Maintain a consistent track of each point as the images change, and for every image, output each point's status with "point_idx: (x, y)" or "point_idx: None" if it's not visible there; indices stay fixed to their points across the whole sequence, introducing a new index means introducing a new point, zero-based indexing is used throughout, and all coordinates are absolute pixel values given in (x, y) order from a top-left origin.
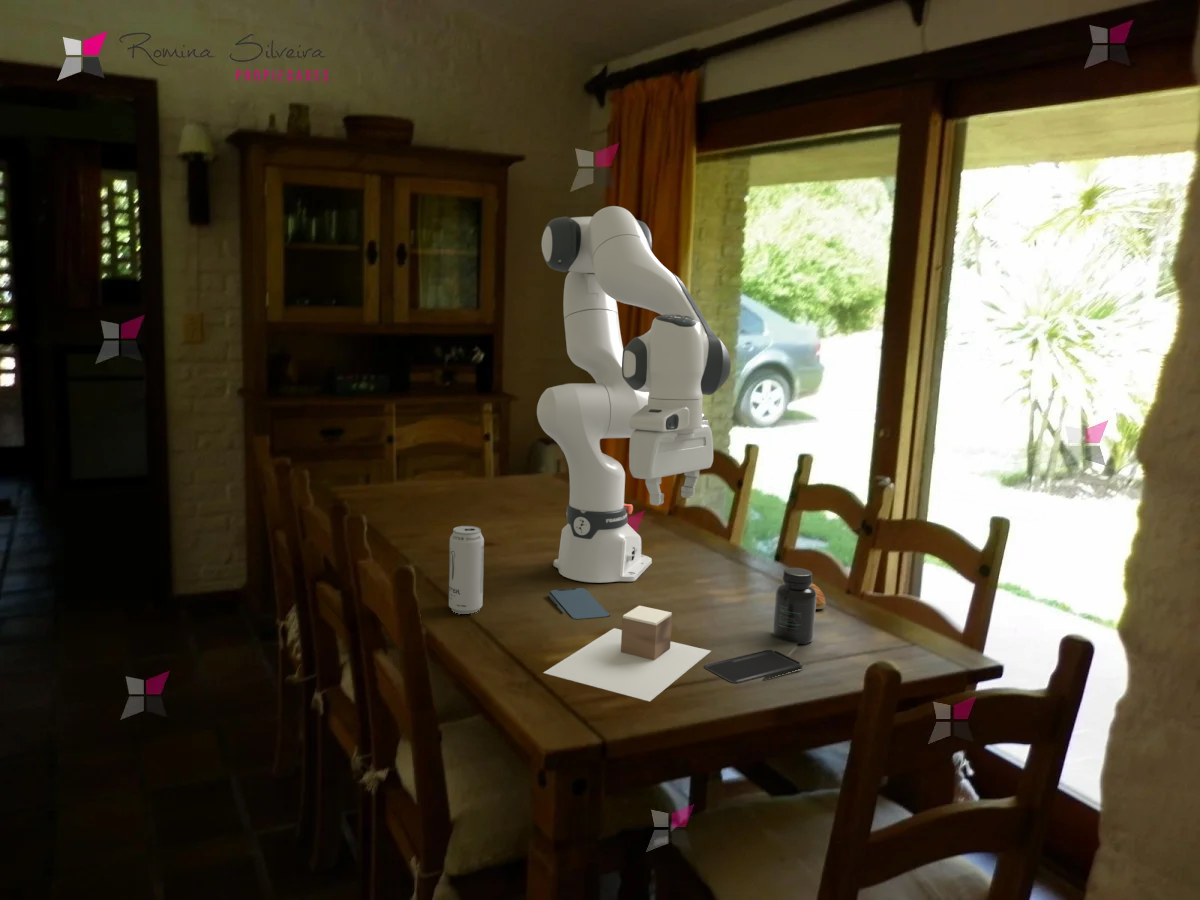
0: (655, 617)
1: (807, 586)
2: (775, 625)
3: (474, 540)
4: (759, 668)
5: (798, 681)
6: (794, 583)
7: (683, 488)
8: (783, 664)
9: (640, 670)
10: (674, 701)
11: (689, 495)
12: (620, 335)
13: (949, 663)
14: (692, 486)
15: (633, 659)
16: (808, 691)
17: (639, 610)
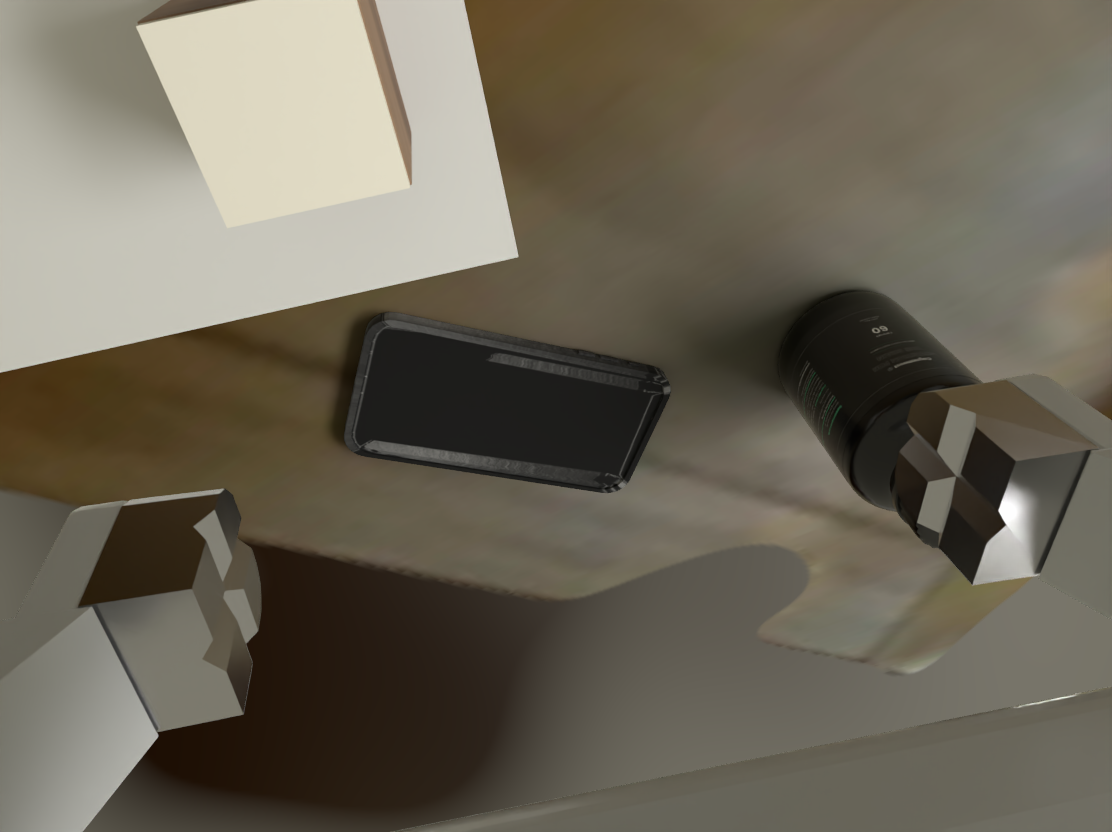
0: (283, 175)
1: None
2: (817, 341)
3: None
4: (507, 432)
5: (530, 514)
6: (896, 501)
7: (992, 479)
8: (588, 456)
9: (131, 191)
10: (98, 395)
11: (912, 505)
12: None
13: (875, 633)
14: (1051, 574)
15: None
16: (490, 554)
17: (286, 41)
